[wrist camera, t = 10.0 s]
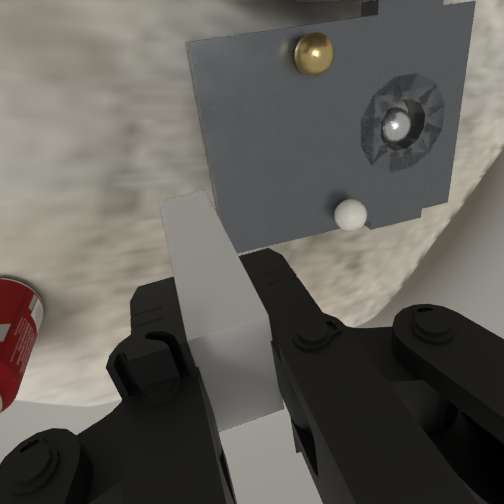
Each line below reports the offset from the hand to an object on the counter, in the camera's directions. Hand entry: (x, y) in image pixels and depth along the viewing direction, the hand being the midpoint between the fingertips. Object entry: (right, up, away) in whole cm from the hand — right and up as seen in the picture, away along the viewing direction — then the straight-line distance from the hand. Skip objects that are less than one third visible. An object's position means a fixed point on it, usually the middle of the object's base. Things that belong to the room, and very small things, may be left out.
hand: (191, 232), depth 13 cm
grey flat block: (+9, +11, +24) cm, 27 cm away
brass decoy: (+7, +14, +16) cm, 22 cm away
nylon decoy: (+11, +3, +24) cm, 26 cm away
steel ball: (+15, +11, +23) cm, 30 cm away
